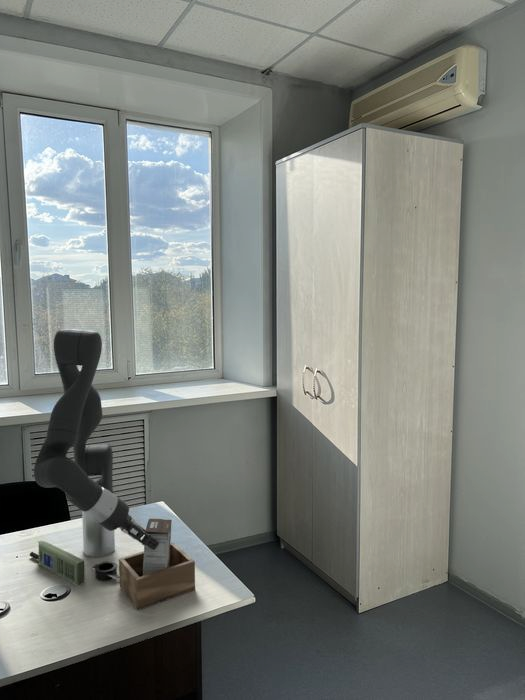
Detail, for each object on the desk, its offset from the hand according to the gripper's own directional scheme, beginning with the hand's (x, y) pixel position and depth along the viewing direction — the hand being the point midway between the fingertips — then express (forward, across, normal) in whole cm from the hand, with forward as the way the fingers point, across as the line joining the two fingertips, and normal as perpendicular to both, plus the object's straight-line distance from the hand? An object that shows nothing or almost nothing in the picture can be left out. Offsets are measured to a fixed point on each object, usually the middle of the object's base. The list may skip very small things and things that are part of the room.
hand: (149, 540), depth 138 cm
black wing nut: (+5, +14, +15) cm, 22 cm away
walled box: (+11, 0, +9) cm, 14 cm away
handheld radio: (-2, +26, +23) cm, 35 cm away
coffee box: (+10, 0, +8) cm, 13 cm away
